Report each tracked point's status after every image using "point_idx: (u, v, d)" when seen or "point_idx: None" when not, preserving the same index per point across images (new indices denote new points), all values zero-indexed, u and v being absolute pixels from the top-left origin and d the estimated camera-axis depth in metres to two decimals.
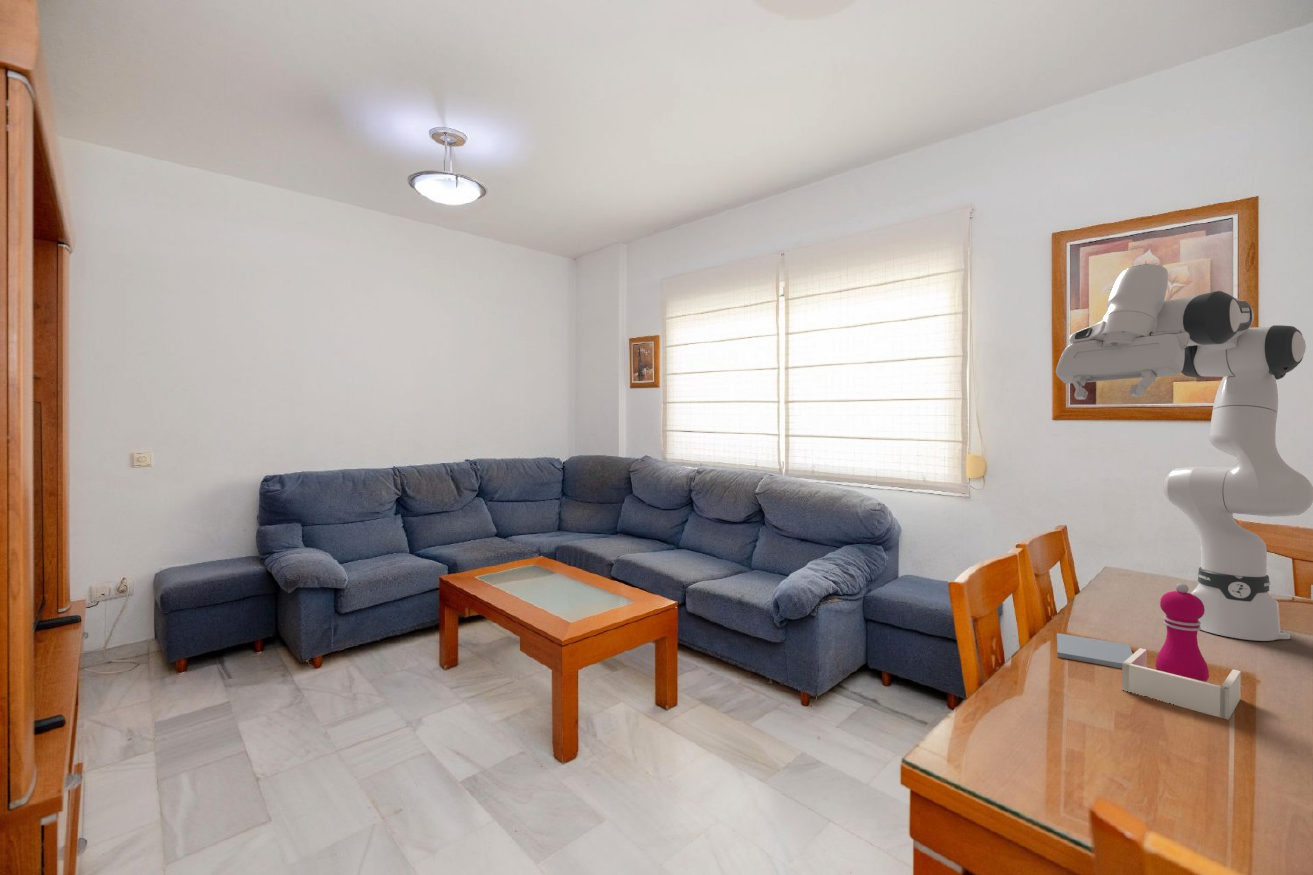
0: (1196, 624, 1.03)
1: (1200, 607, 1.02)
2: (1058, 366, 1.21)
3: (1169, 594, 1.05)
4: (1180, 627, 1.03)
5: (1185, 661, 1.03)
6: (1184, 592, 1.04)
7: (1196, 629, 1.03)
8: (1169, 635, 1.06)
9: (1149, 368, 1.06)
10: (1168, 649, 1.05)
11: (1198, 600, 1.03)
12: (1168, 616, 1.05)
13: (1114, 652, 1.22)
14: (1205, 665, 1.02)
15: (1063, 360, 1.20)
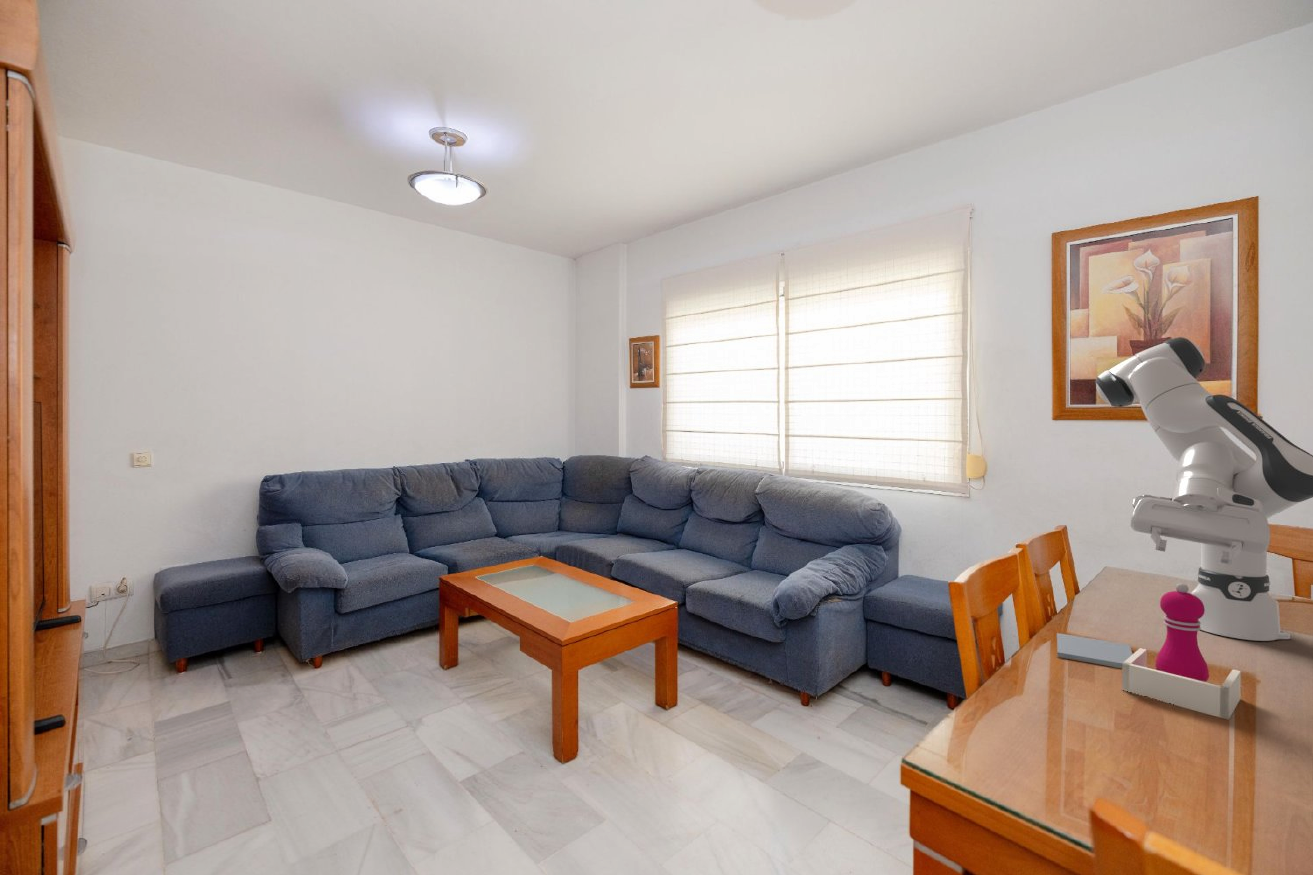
0: (1196, 624, 1.03)
1: (1200, 607, 1.02)
2: None
3: (1169, 594, 1.05)
4: (1180, 627, 1.03)
5: (1185, 661, 1.03)
6: (1184, 592, 1.04)
7: (1196, 629, 1.03)
8: (1169, 635, 1.06)
9: None
10: (1168, 649, 1.05)
11: (1198, 600, 1.03)
12: (1168, 616, 1.05)
13: (1114, 652, 1.22)
14: (1205, 665, 1.02)
15: None
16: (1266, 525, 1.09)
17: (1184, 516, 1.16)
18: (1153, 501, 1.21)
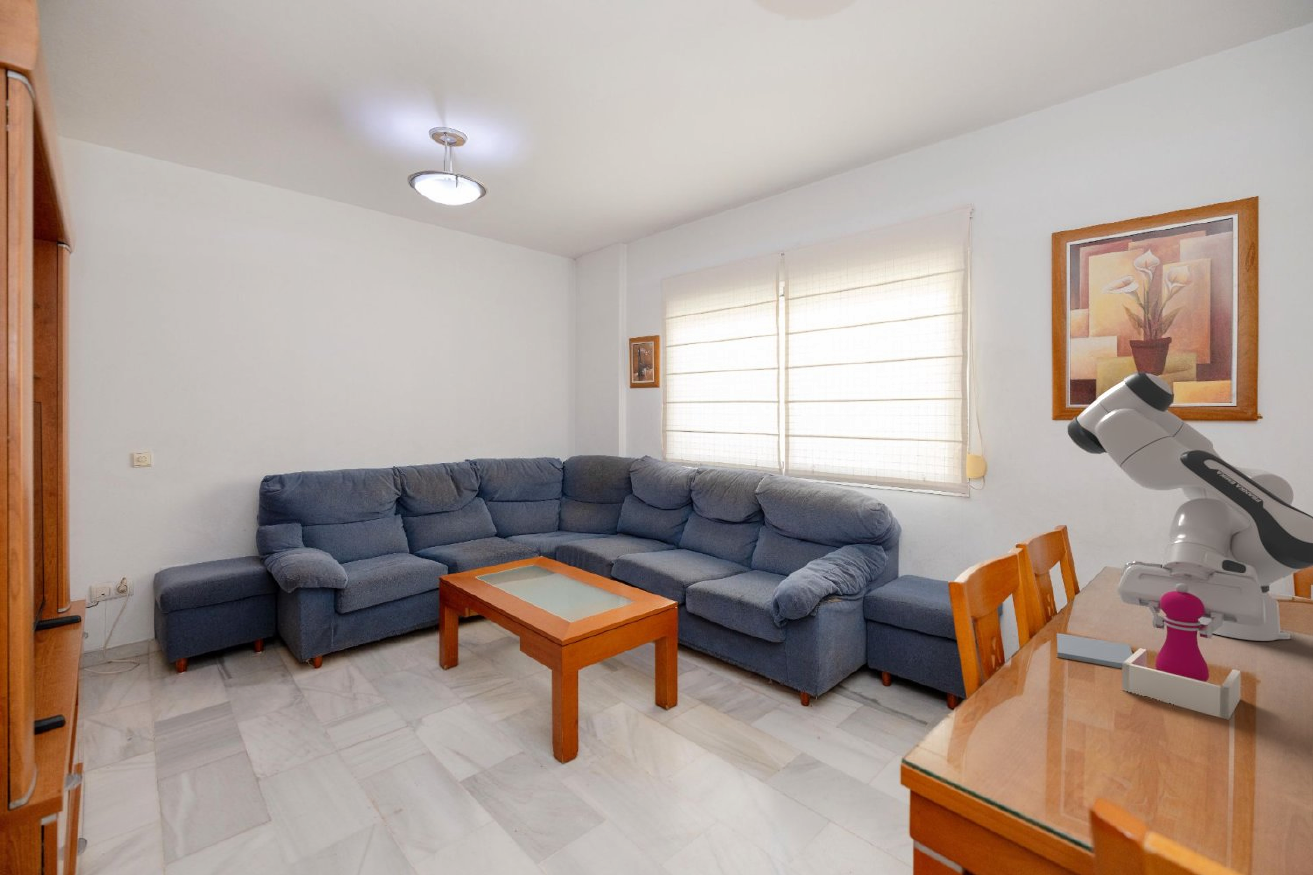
0: (1196, 624, 1.03)
1: (1200, 607, 1.02)
2: None
3: (1169, 594, 1.05)
4: (1180, 627, 1.03)
5: (1185, 661, 1.03)
6: (1184, 592, 1.04)
7: (1196, 629, 1.03)
8: (1169, 635, 1.06)
9: (1142, 605, 1.12)
10: (1168, 649, 1.05)
11: (1198, 600, 1.03)
12: (1168, 616, 1.05)
13: (1114, 652, 1.22)
14: (1205, 665, 1.02)
15: None
16: (1259, 595, 1.00)
17: (1172, 586, 1.09)
18: (1140, 570, 1.14)
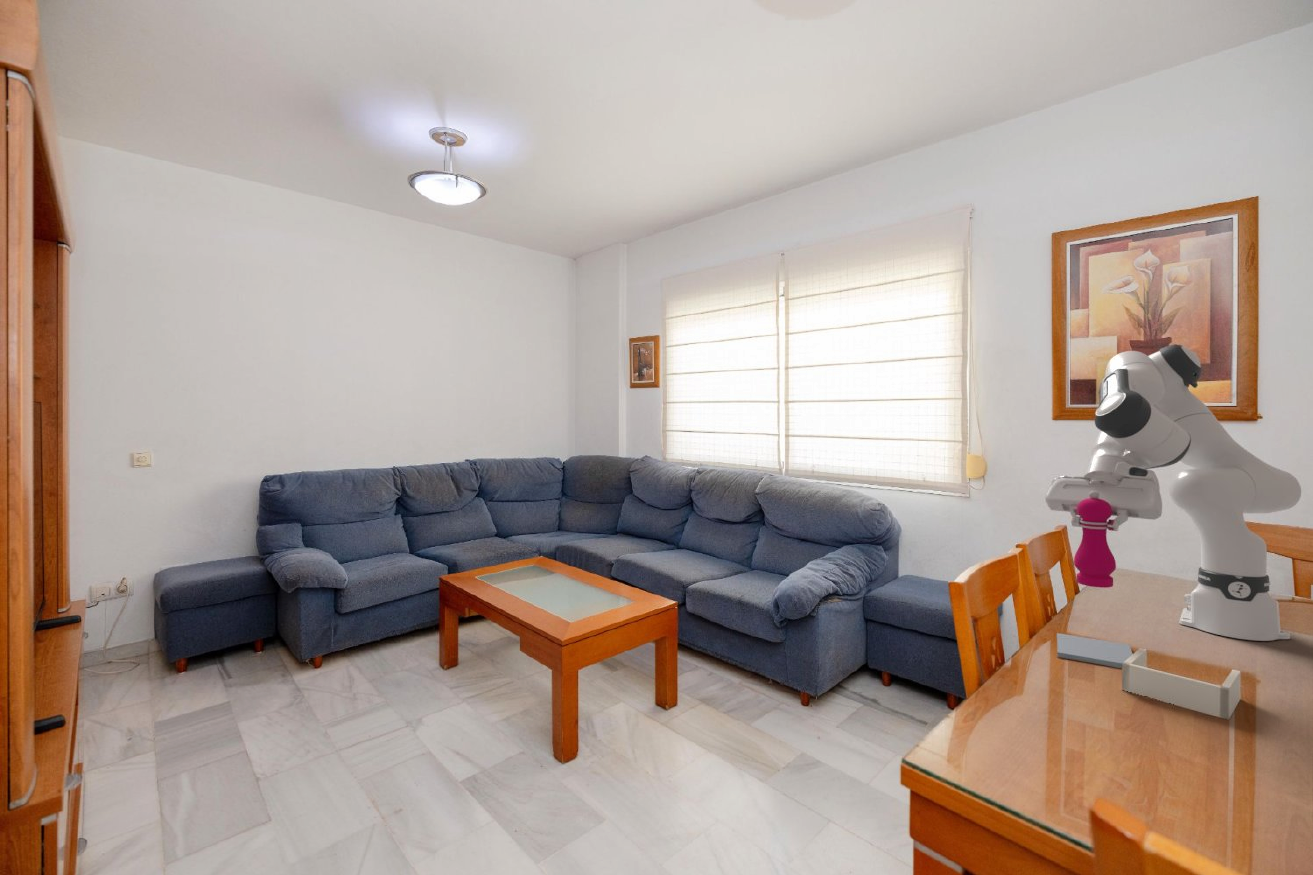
0: (1104, 523, 1.22)
1: (1107, 509, 1.21)
2: None
3: (1083, 500, 1.24)
4: (1092, 526, 1.22)
5: (1095, 555, 1.22)
6: (1095, 498, 1.23)
7: (1105, 527, 1.22)
8: (1083, 535, 1.24)
9: (1066, 511, 1.31)
10: (1083, 547, 1.24)
11: (1106, 503, 1.22)
12: (1083, 519, 1.24)
13: (1114, 652, 1.22)
14: (1112, 558, 1.21)
15: None
16: (1156, 493, 1.19)
17: (1089, 492, 1.28)
18: (1065, 482, 1.33)
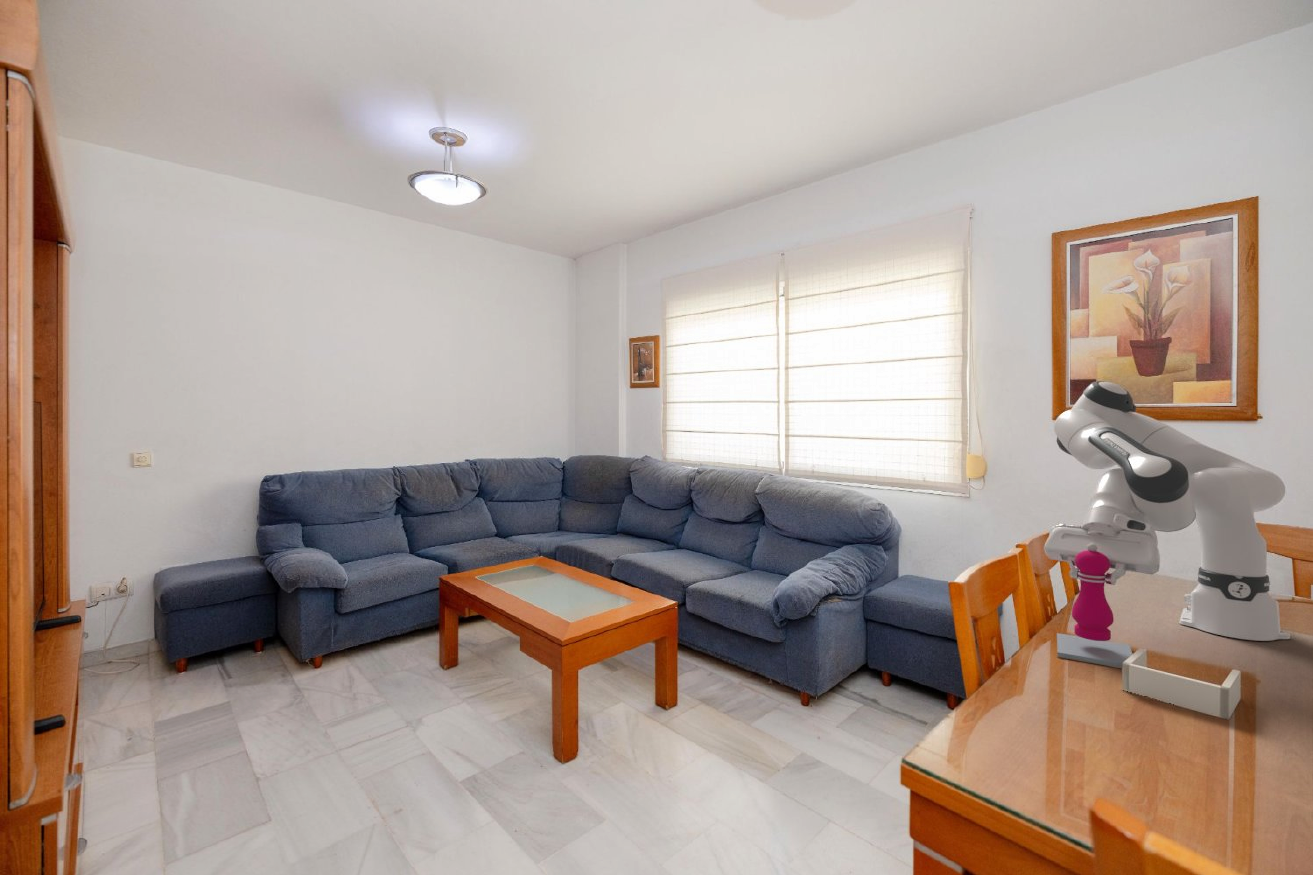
0: (1102, 577, 1.22)
1: (1105, 563, 1.22)
2: None
3: (1081, 553, 1.25)
4: (1089, 580, 1.23)
5: (1093, 608, 1.22)
6: (1093, 551, 1.24)
7: (1102, 581, 1.22)
8: (1081, 587, 1.25)
9: (1064, 560, 1.32)
10: (1080, 599, 1.25)
11: (1104, 557, 1.22)
12: (1081, 571, 1.25)
13: (1114, 652, 1.22)
14: (1110, 611, 1.22)
15: None
16: (1154, 548, 1.19)
17: (1087, 543, 1.28)
18: (1063, 531, 1.33)
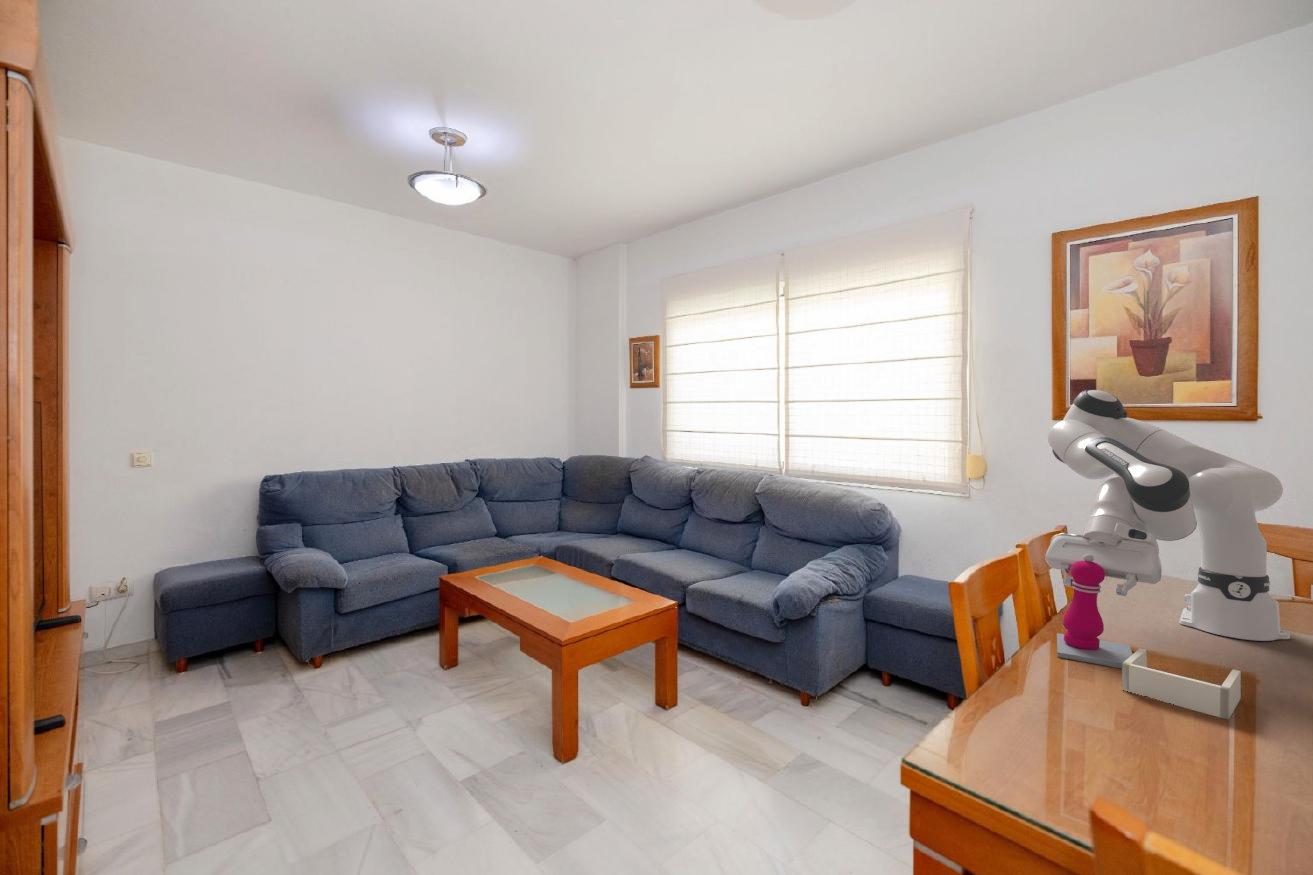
0: (1096, 588, 1.23)
1: (1100, 574, 1.22)
2: None
3: (1078, 562, 1.25)
4: (1083, 590, 1.24)
5: (1084, 617, 1.23)
6: (1090, 561, 1.24)
7: (1096, 592, 1.23)
8: (1074, 596, 1.26)
9: None
10: (1072, 608, 1.26)
11: (1100, 568, 1.23)
12: (1075, 580, 1.26)
13: (1114, 652, 1.22)
14: (1101, 621, 1.23)
15: None
16: (1155, 557, 1.19)
17: (1089, 552, 1.28)
18: (1064, 540, 1.33)
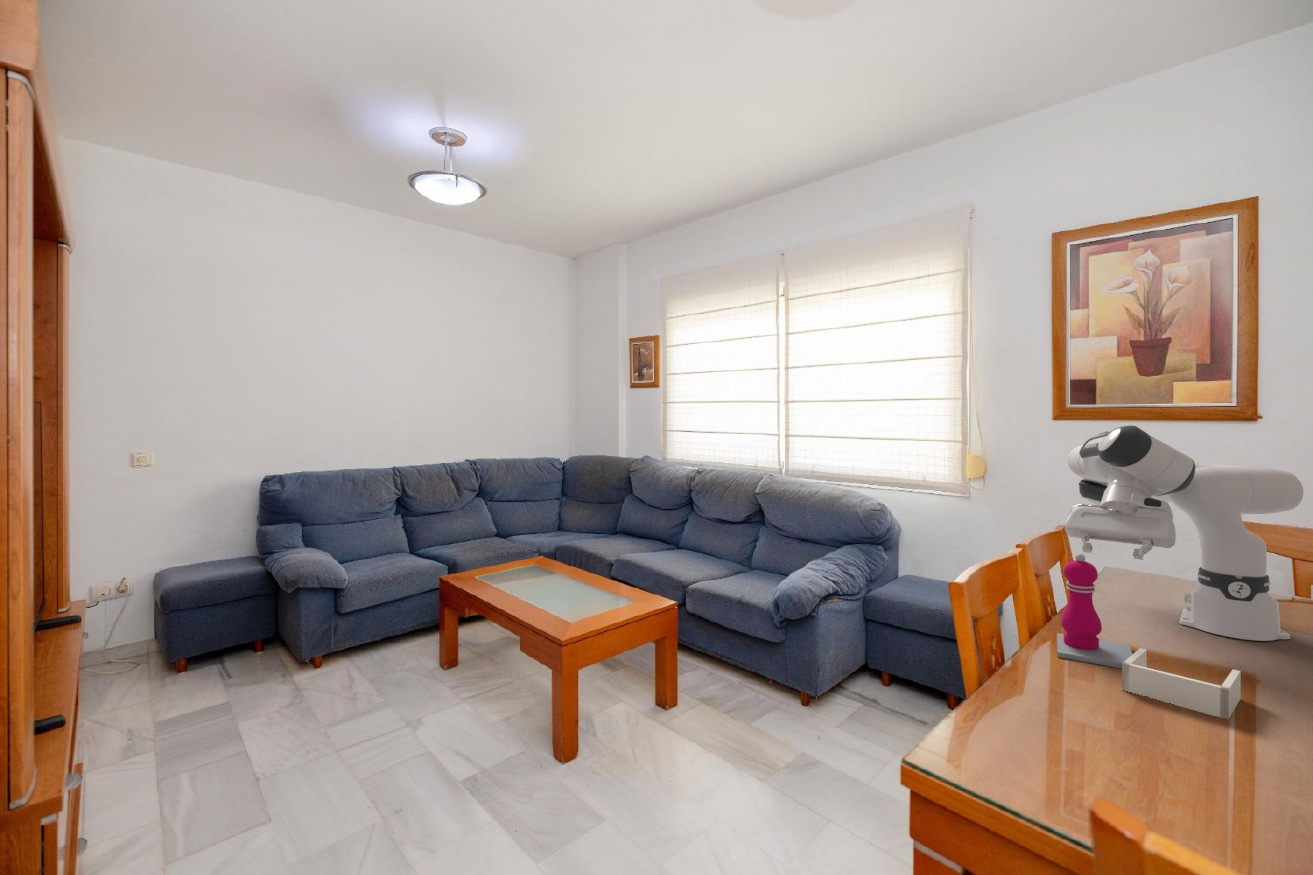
0: (1090, 587, 1.23)
1: (1093, 573, 1.22)
2: None
3: (1070, 563, 1.26)
4: (1078, 590, 1.24)
5: (1081, 618, 1.23)
6: (1081, 561, 1.24)
7: (1090, 591, 1.23)
8: (1070, 597, 1.26)
9: None
10: (1069, 609, 1.26)
11: (1092, 567, 1.23)
12: (1069, 581, 1.26)
13: (1114, 652, 1.22)
14: (1098, 620, 1.23)
15: None
16: (1170, 523, 1.27)
17: (1106, 520, 1.36)
18: (1083, 510, 1.41)
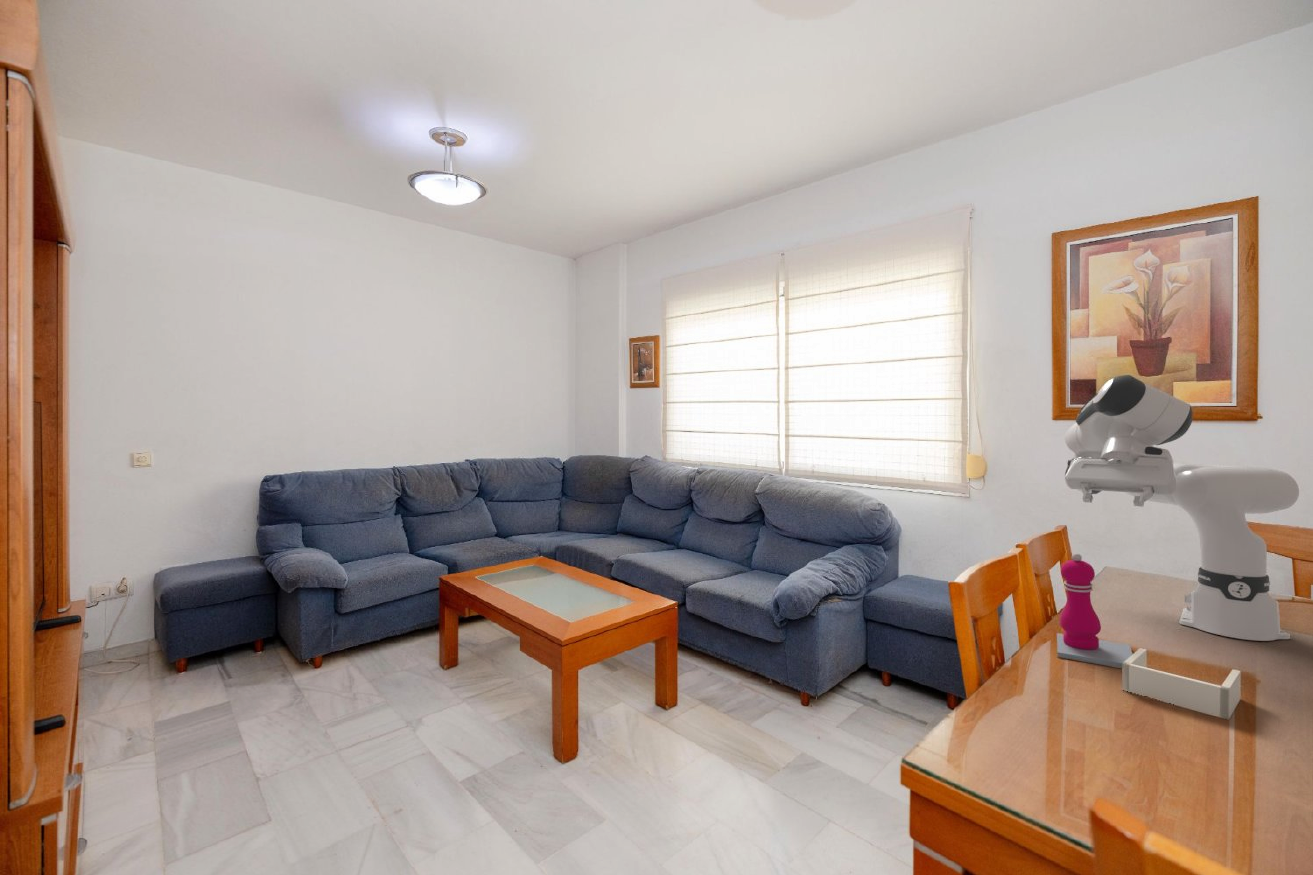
0: (1088, 586, 1.23)
1: (1090, 572, 1.23)
2: None
3: (1067, 563, 1.26)
4: (1076, 590, 1.24)
5: (1081, 618, 1.23)
6: (1078, 560, 1.25)
7: (1088, 590, 1.23)
8: (1068, 596, 1.26)
9: None
10: (1068, 609, 1.26)
11: (1089, 566, 1.23)
12: (1067, 581, 1.26)
13: (1114, 652, 1.22)
14: (1097, 619, 1.23)
15: None
16: (1171, 469, 1.27)
17: (1107, 471, 1.36)
18: (1083, 462, 1.41)
